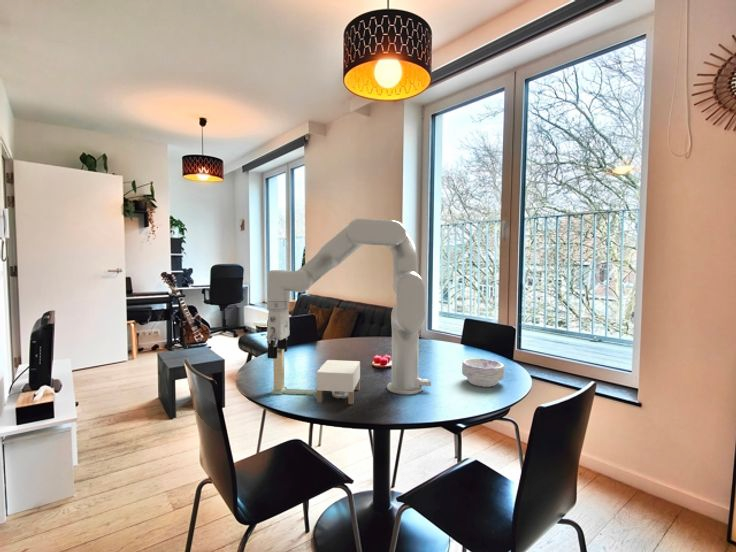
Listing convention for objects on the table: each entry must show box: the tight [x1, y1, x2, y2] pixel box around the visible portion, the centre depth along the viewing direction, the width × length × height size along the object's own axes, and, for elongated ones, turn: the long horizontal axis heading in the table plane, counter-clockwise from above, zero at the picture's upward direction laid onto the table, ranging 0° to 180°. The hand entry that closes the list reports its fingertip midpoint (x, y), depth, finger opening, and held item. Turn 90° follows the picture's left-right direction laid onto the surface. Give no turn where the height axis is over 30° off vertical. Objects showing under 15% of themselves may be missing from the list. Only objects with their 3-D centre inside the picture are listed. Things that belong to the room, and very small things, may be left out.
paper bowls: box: [461, 357, 505, 388], centre depth 146 cm, size 15×15×8 cm
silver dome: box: [331, 391, 348, 399], centre depth 133 cm, size 6×6×2 cm
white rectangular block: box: [316, 359, 361, 405], centre depth 132 cm, size 12×15×10 cm
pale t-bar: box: [270, 348, 324, 399], centre depth 134 cm, size 17×7×15 cm, turn 83°
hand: (277, 354), depth 135 cm, fingers open, 9 cm apart
